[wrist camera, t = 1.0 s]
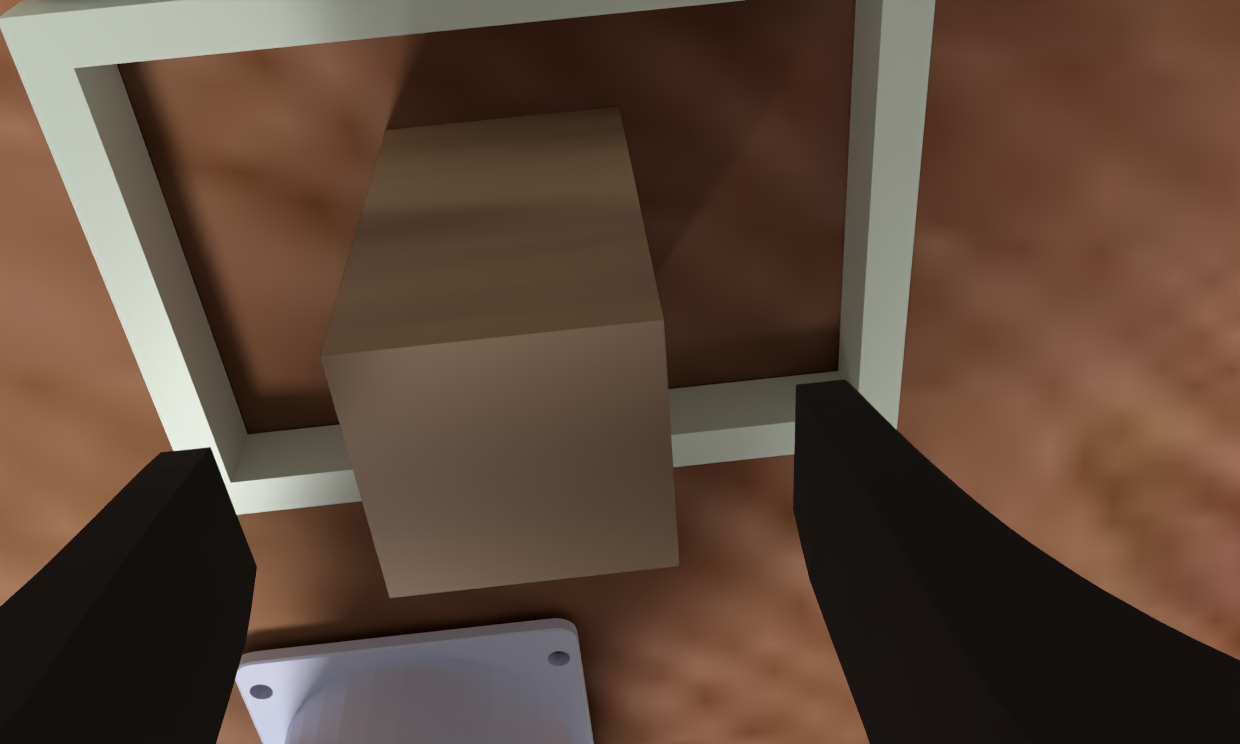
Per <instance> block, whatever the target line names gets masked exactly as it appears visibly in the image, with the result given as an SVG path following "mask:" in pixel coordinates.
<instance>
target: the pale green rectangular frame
mask: <svg viewBox="0 0 1240 744" xmlns="http://www.w3.org/2000/svg"><path fill="white" fill-rule="evenodd" d="M733 1H743V0H23V1H21V2H20V3H18V4H17V5H15V6H14V7H13V8H11V9H10V10H8V11H7V12H5V13H4V14H3V15H1V16H0V28H1V31H2V33H3V36H4V38H5V41H6V43H7V45H8V48H9V50H10V53H11V55H12V58H13V60H14V63H15V65H16V67H17V70H18V72H19V75H20V77H21V80H22V82H23V85H24V87H25V89H26V92H27V94H28V97H29V99H30V102H31V104H32V107H33V109H34V111H35V114H36V116H37V119H38V121H39V124H40V126H41V128H42V131H43V133H44V136H45V138H46V141H47V143H48V146H49V148H50V150H51V153H52V155H53V158H54V160H55V163H56V165H57V168H58V170H59V172H60V175H61V177H62V180H63V182H64V185H65V187H66V190H67V192H68V194H69V197H70V199H71V202H72V204H73V207H74V209H75V212H76V214H77V216H78V219H79V221H80V224H81V226H82V229H83V231H84V234H85V236H86V238H87V241H88V243H89V246H90V248H91V251H92V253H93V256H94V258H95V260H96V263H97V265H98V268H99V270H100V273H101V275H102V278H103V280H104V282H105V285H106V287H107V290H108V292H109V295H110V297H111V300H112V302H113V304H114V307H115V309H116V312H117V314H118V317H119V319H120V321H121V324H122V326H123V329H124V331H125V334H126V336H127V339H128V341H129V343H130V346H131V348H132V351H133V353H134V356H135V358H136V361H137V363H138V365H139V368H140V370H141V373H142V375H143V378H144V380H145V383H146V385H147V387H148V390H149V392H150V395H151V397H152V400H153V402H154V405H155V407H156V409H157V412H158V414H159V417H160V419H161V422H162V424H163V427H164V429H165V431H166V434H167V436H168V439H169V441H170V444H171V446H172V449H173V451H179V450H189V449H198V448H207V447H211V450H212V452H213V455H214V457H215V460H216V463H217V465H218V468H219V470H220V473H221V476H222V478H223V481H224V483H225V486H226V489H227V491H228V494H229V496H230V499H231V502H232V504H233V507H234V509H235V512H236V515H239V514H248V513H257V512H267V511H276V510H285V509H294V508H303V507H313V506H322V505H331V504H340V503H349V502H359V501H362V500H361V497H360V493H359V490H358V486H357V483H356V479H355V476H354V472H353V469H352V465H351V462H350V459H349V455H348V452H347V448H346V445H345V441H344V438H343V434H342V431H341V427H340V425H330V426H321V427H312V428H303V429H293V430H284V431H275V432H265V433H256V434H247V431H246V428H245V425H244V423H243V420H242V417H241V414H240V411H239V408H238V406H237V403H236V400H235V397H234V394H233V391H232V389H231V386H230V383H229V380H228V377H227V375H226V372H225V369H224V366H223V363H222V360H221V358H220V355H219V352H218V349H217V346H216V343H215V341H214V338H213V335H212V332H211V329H210V327H209V324H208V321H207V318H206V315H205V312H204V310H203V307H202V304H201V301H200V298H199V295H198V293H197V290H196V287H195V284H194V281H193V278H192V276H191V273H190V270H189V267H188V264H187V262H186V259H185V256H184V253H183V250H182V247H181V245H180V242H179V239H178V236H177V233H176V230H175V228H174V225H173V222H172V219H171V216H170V213H169V211H168V208H167V205H166V202H165V199H164V197H163V194H162V191H161V188H160V185H159V182H158V180H157V177H156V174H155V171H154V168H153V165H152V163H151V160H150V157H149V154H148V151H147V149H146V146H145V143H144V140H143V137H142V134H141V132H140V129H139V126H138V123H137V120H136V117H135V115H134V112H133V109H132V106H131V103H130V100H129V98H128V95H127V92H126V89H125V86H124V84H123V81H122V78H121V75H120V72H119V69H118V67H117V64H121V63H131V62H141V61H150V60H160V59H170V58H180V57H190V56H200V55H210V54H220V53H229V52H239V51H249V50H259V49H269V48H279V47H289V46H299V45H309V44H318V43H328V42H338V41H348V40H358V39H368V38H378V37H388V36H397V35H407V34H417V33H427V32H437V31H447V30H457V29H467V28H477V27H486V26H496V25H506V24H516V23H526V22H536V21H546V20H556V19H565V18H575V17H585V16H595V15H605V14H615V13H625V12H635V11H645V10H654V9H664V8H674V7H684V6H694V5H704V4H714V3H724V2H733ZM934 10H935V0H856V7H855V28H854V49H853V70H852V91H851V111H850V132H849V153H848V174H847V195H846V216H845V237H844V258H843V278H842V299H841V320H840V341H839V362H838V371H833V372H824V373H815V374H805V375H796V376H787V377H778V378H768V379H759V380H750V381H740V382H731V383H722V384H712V385H703V386H694V387H684V388H675V389H668V393H669V409H670V424H671V440H672V455H673V467H681V466H690V465H699V464H708V463H718V462H727V461H736V460H745V459H754V458H764V457H773V456H782V455H791V454H794V449H795V402H796V385H797V384H806V383H816V382H825V381H834V380H844V379H845V380H846V381H848V382H849V383H850V384H851V385H852V386H853V387H854V388H855V389H856V390H857V391H858V392H859V393H860V394H861V395H862V396H863V397H864V398H865V399H866V400H867V401H868V402H869V403H870V404H871V405H872V406H873V407H874V408H875V409H876V410H877V411H878V412H879V413H880V414H881V415H882V416H883V417H884V418H885V419H886V420H887V421H888V422H889V423H890V424H891V425H892V426H893V427H894V428H895V429H896V430H897V422H898V411H899V400H900V388H901V377H902V366H903V355H904V344H905V333H906V322H907V311H908V299H909V288H910V277H911V266H912V255H913V244H914V233H915V222H916V210H917V199H918V188H919V177H920V166H921V155H922V144H923V133H924V121H925V110H926V99H927V88H928V77H929V66H930V55H931V44H932V32H933V21H934Z"/></svg>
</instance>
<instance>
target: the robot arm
mask: <svg viewBox="0 0 1240 744" xmlns="http://www.w3.org/2000/svg"><path fill="white" fill-rule="evenodd" d="M793 510H794V515H795V519H796V523H797V528H798V532H799V537H800V541H801V546H802V550H803V554H804V558H805V562H806V566H807V570H808V575H809V579H810V582H811V585H812V587H813V590H814V593H815V596H816V598H817V601H818V604H819V607H820V609H821V612H822V615H823V618H824V620H825V623H826V626H827V628H828V631H829V634H830V637H831V639H832V642H833V645H834V647H835V650H836V653H837V655H838V658H839V661H840V663H841V666H842V669H843V671H844V674H845V677H846V680H847V682H848V685H849V688H850V690H851V693H852V696H853V698H854V701H855V704H856V706H857V709H858V712H859V714H860V717H861V720H862V722H863V725H864V728H865V730H866V733H867V736H868V740H869V743H870V744H1240V660H1238V659H1236V658H1233V657H1231V656H1229V655H1227V654H1225V653H1223V652H1221V651H1219V650H1216V649H1214V648H1212V647H1210V646H1208V645H1206V644H1204V643H1201V642H1199V641H1197V640H1195V639H1193V638H1191V637H1189V636H1187V635H1185V634H1183V633H1181V632H1179V631H1177V630H1175V629H1173V628H1171V627H1169V626H1168V625H1166V624H1164V623H1162V622H1160V621H1158V620H1156V619H1154V618H1152V617H1150V616H1149V615H1147V614H1145V613H1143V612H1142V611H1140V610H1138V609H1136V608H1134V607H1133V606H1131V605H1129V604H1127V603H1126V602H1124V601H1122V600H1120V599H1118V598H1117V597H1115V596H1113V595H1111V594H1110V593H1108V592H1106V591H1104V590H1103V589H1101V588H1099V587H1098V586H1096V585H1094V584H1093V583H1091V582H1089V581H1088V580H1086V579H1084V578H1083V577H1081V576H1080V575H1078V574H1076V573H1075V572H1073V571H1072V570H1070V569H1069V568H1067V567H1066V566H1064V565H1063V564H1061V563H1060V562H1058V561H1057V560H1055V559H1054V558H1052V557H1051V556H1049V555H1048V554H1046V553H1045V552H1043V551H1042V550H1040V549H1039V548H1037V547H1036V546H1034V545H1033V544H1031V543H1030V542H1028V541H1027V540H1026V539H1024V538H1023V537H1021V536H1020V535H1019V534H1017V533H1016V532H1015V531H1013V530H1012V529H1010V528H1009V527H1008V526H1006V525H1005V524H1004V523H1003V522H1001V521H1000V520H999V519H998V518H996V517H995V516H994V515H993V514H991V513H990V512H989V511H988V510H986V509H985V508H984V507H982V506H981V505H980V504H979V503H977V502H976V501H975V500H974V499H973V498H972V497H970V496H969V495H968V494H967V493H966V492H964V491H963V490H962V489H961V488H960V487H958V486H957V485H956V484H955V483H954V482H953V481H952V480H951V479H949V478H948V477H947V476H946V475H945V474H944V473H943V472H942V471H940V470H939V469H938V468H937V467H936V466H935V465H934V464H933V463H931V462H930V461H929V460H928V459H927V458H926V457H925V456H924V455H923V454H922V453H920V452H919V451H918V450H917V449H916V448H915V447H914V446H913V445H912V444H911V443H910V442H909V441H908V440H907V439H906V438H905V437H904V436H903V435H902V434H901V433H899V432H898V431H897V430H896V429H895V428H894V427H893V426H892V425H891V424H890V423H889V422H888V421H887V420H886V419H885V418H884V417H883V416H882V415H881V414H880V413H879V412H878V411H877V410H876V409H875V408H874V407H873V406H872V405H871V404H870V403H869V402H868V401H867V400H866V399H865V398H864V397H863V396H862V395H861V394H860V393H859V392H858V391H857V390H856V389H855V388H854V387H853V386H852V385H851V384H850V383H849V382H848V381H846V380H845V379H844V380H834V381H825V382H816V383H806V384H797V385H796V402H795V449H794V495H793ZM256 569H257V567H256V564H255V561H254V559H253V556H252V554H251V551H250V548H249V546H248V543H247V541H246V538H245V535H244V533H243V530H242V528H241V525H240V522H239V520H238V517H237V515H236V512H235V509H234V507H233V504H232V502H231V499H230V496H229V494H228V491H227V489H226V486H225V483H224V481H223V478H222V476H221V473H220V470H219V468H218V465H217V463H216V460H215V457H214V455H213V452H212V450H211V447H207V448H198V449H189V450H179V451H170V452H161V453H160V454H159V455H157V456H156V457H155V458H154V459H153V460H152V461H151V462H150V463H149V464H148V465H146V466H145V467H144V468H143V469H142V470H141V471H140V472H139V473H138V474H137V475H136V476H135V477H134V478H133V479H132V480H131V481H130V482H129V483H128V484H127V485H126V486H125V487H124V488H123V489H122V490H121V491H120V492H119V493H118V494H117V495H116V496H115V497H114V498H113V499H112V500H111V501H110V502H109V503H108V504H107V505H106V506H105V507H104V508H103V509H102V510H101V511H100V512H99V513H98V514H97V515H96V516H95V517H94V518H93V519H92V520H91V521H90V522H89V523H88V524H87V525H86V526H85V527H84V528H83V529H82V530H81V531H80V532H79V533H78V534H77V535H76V536H75V537H74V538H73V539H72V540H71V541H70V542H69V543H68V544H67V545H66V546H65V547H64V548H63V549H62V550H61V551H60V552H59V553H58V554H57V555H56V556H55V557H54V558H53V559H52V560H51V561H50V562H49V563H48V564H46V565H45V566H44V567H43V568H42V569H41V570H40V571H39V572H38V573H37V574H36V575H35V576H34V577H33V578H31V579H30V580H29V581H28V582H27V583H26V584H25V585H24V586H23V587H22V588H20V589H19V590H18V591H17V592H16V593H15V594H14V595H13V596H12V597H10V598H9V599H8V600H7V601H6V602H5V603H4V604H3V605H2V606H1V607H0V744H216V741H217V738H218V735H219V731H220V728H221V725H222V722H223V718H224V715H225V712H226V708H227V705H228V702H229V698H230V695H231V691H232V688H233V685H234V681H236V684H237V686H238V688H239V691H240V693H241V695H242V698H243V700H244V702H245V704H246V707H247V709H248V711H249V714H250V716H251V718H252V720H253V723H254V725H255V727H256V730H257V732H258V734H259V737H260V739H261V741H262V743H263V744H594V740H593V733H592V727H591V720H590V713H589V707H588V700H587V693H586V686H585V680H584V673H583V666H582V659H581V653H580V646H579V639H578V632H577V629H576V627H575V625H574V624H573V623H571V622H570V621H568V620H565V619H562V618H551V619H542V620H533V621H524V622H515V623H506V624H497V625H488V626H479V627H470V628H461V629H452V630H443V631H434V632H425V633H416V634H407V635H398V636H389V637H380V638H371V639H362V640H353V641H344V642H335V643H326V644H317V645H308V646H299V647H290V648H280V649H271V650H262V651H254V652H250V653H246V654H244V655H242V653H243V650H244V646H245V643H246V637H247V631H248V625H249V619H250V613H251V607H252V599H253V592H254V584H255V577H256ZM556 651H563V652H562V653H553V652H556ZM265 685H266V686H265Z"/></svg>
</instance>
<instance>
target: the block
mask: <svg viewBox="0 0 1240 744" xmlns="http://www.w3.org/2000/svg"><path fill="white" fill-rule="evenodd" d="M320 358H321V362H322V365H323V368H324V372H325V375H326V379H327V382H328V386H329V389H330V393H331V396H332V400H333V403H334V407H335V410H336V414H337V417H338V420H339V424H340V427H341V431H342V434H343V438H344V441H345V445H346V448H347V452H348V455H349V459H350V462H351V465H352V469H353V472H354V476H355V479H356V483H357V486H358V490H359V493H360V497H361V500H362V504H363V507H364V511H365V514H366V517H367V521H368V524H369V528H370V531H371V535H372V538H373V542H374V545H375V549H376V552H377V556H378V559H379V562H380V566H381V569H382V573H383V576H384V580H385V583H386V587H387V590H388V594H389V597H390V598H395V597H404V596H413V595H422V594H431V593H440V592H449V591H458V590H467V589H476V588H485V587H494V586H503V585H512V584H522V583H531V582H540V581H549V580H558V579H567V578H576V577H585V576H594V575H603V574H612V573H621V572H630V571H639V570H648V569H657V568H666V567H675V566H680V564H679V549H678V533H677V517H676V502H675V486H674V471H673V455H672V440H671V424H670V409H669V393H668V377H667V362H666V346H665V331H664V318H663V314H662V309H661V304H660V299H659V294H658V290H657V285H656V280H655V275H654V271H653V266H652V261H651V256H650V251H649V247H648V242H647V237H646V232H645V227H644V223H643V218H642V213H641V208H640V204H639V199H638V194H637V189H636V184H635V180H634V175H633V170H632V165H631V161H630V156H629V151H628V146H627V141H626V137H625V132H624V127H623V122H622V118H621V113H620V108H619V106H616V107H606V108H596V109H587V110H577V111H567V112H558V113H548V114H538V115H528V116H519V117H509V118H499V119H489V120H480V121H470V122H460V123H450V124H441V125H431V126H421V127H411V128H402V129H392V130H385V133H384V137H383V140H382V144H381V147H380V150H379V154H378V157H377V161H376V164H375V168H374V171H373V175H372V178H371V182H370V185H369V189H368V192H367V195H366V199H365V202H364V206H363V209H362V213H361V216H360V220H359V223H358V227H357V230H356V233H355V237H354V240H353V244H352V247H351V251H350V254H349V258H348V261H347V265H346V268H345V272H344V275H343V278H342V282H341V285H340V289H339V292H338V296H337V299H336V303H335V306H334V310H333V313H332V316H331V320H330V323H329V327H328V330H327V334H326V337H325V341H324V344H323V348H322V351H321V355H320Z"/></svg>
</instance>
